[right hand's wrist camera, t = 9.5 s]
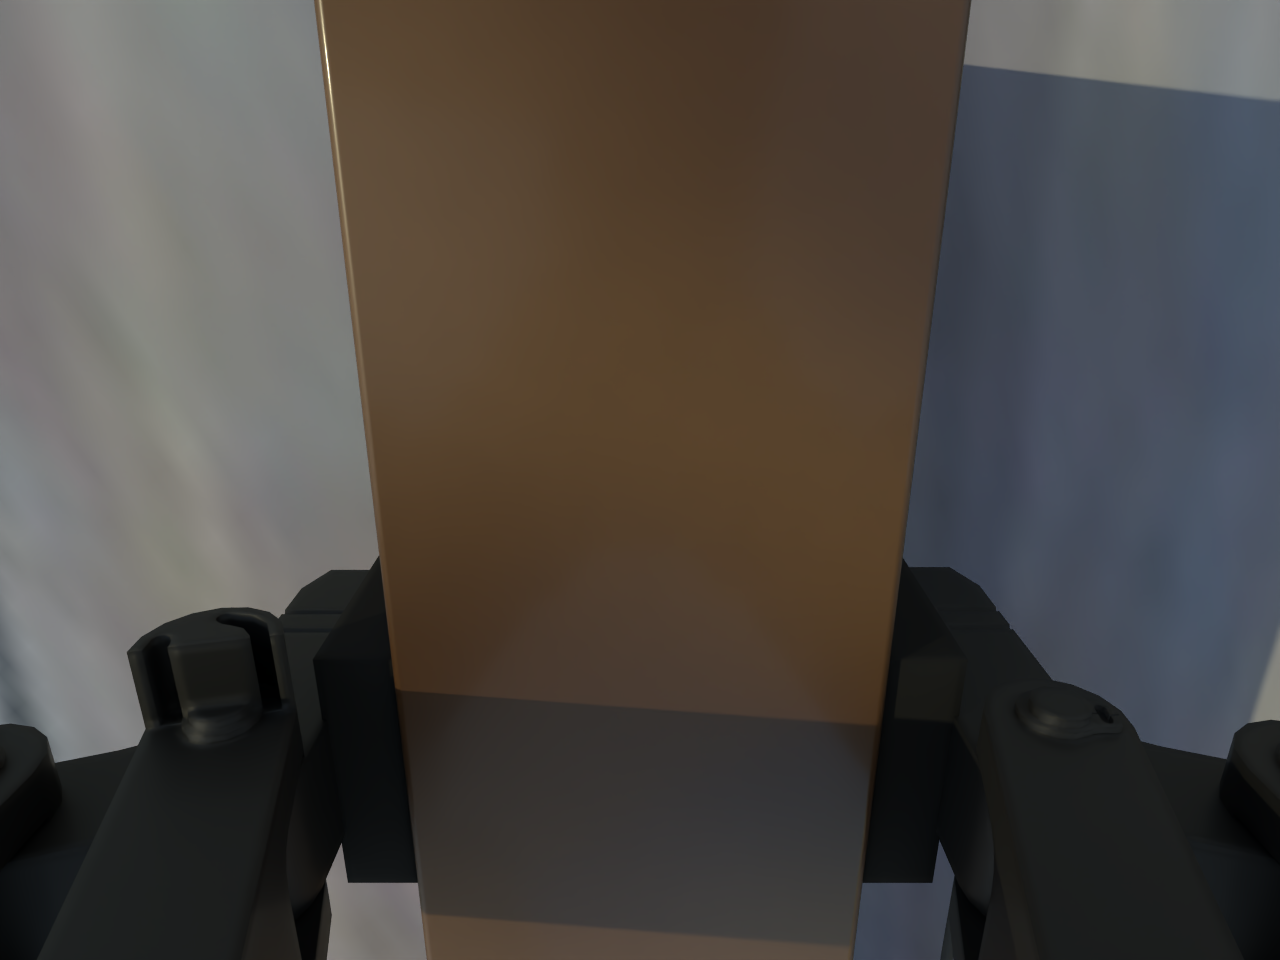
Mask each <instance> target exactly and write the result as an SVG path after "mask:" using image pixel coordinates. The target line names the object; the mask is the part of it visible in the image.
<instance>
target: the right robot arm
mask: <svg viewBox="0 0 1280 960" xmlns="http://www.w3.org/2000/svg"><path fill="white" fill-rule="evenodd" d="M1009 626H1010V625H1009V624H1008V622H1007V621H1006V620H1005V618H1004V617H1003V616H1002V614H1001V613H1000V612H999V611H996V607H995V605H994V604H993V603H992V602H991V600H990V599H989V598H988V596H987V595H986V594H985V593H984V591H983V590H982V589H981V587H980V586H979V585H977V584H976V583H974V582H972V581H971V580H969V579H968V578H966V577H964V576H963V575H961V574H960V573H958V572H956V571H955V570H953V569H951V568H950V567H908V565H907V564H906V562H905V561H904V559H903V558H902V566H901V575H900V583H899V591H898V599H897V607H896V615H895V623H894V631H893V639H892V647H891V656H890V664H889V672H888V680H887V688H886V696H885V704H884V712H883V720H882V728H881V737H880V745H879V753H878V761H877V769H876V777H875V785H874V793H873V801H872V809H871V818H870V826H869V834H868V842H867V850H866V858H865V866H864V874H863V882H862V883H932V882H933V875H934V869H935V863H936V857H937V850H938V844H939V840H940V842H941V844H942V847H943V849H944V851H945V854H946V856H947V858H948V861H949V863H950V865H951V867H952V870H953V872H954V874H955V877H954V882H953V888H952V894H951V900H950V906H949V912H948V918H947V923H946V929H945V935H944V941H943V947H942V953H941V959H940V960H953V958H954V960H1280V721H1276V720H1267V721H1260V722H1254V723H1247V724H1246V725H1245V726H1244V727H1242V728H1241V729H1240V730H1238V731H1237V732H1236V733H1235V734H1234V737H1233V741H1232V744H1231V747H1230V751H1229V754H1228V757H1227V759H1222V758H1217V757H1212V756H1207V755H1201V754H1196V753H1191V752H1186V751H1181V750H1176V749H1171V748H1166V747H1161V746H1157V745H1153V744H1149V743H1145V742H1142V741H1140V739H1139V736H1138V734H1137V732H1136V730H1135V728H1134V727H1133V725H1132V724H1131V723H1130V722H1129V720H1128V719H1127V718H1126V717H1125V715H1124V714H1123V713H1122V711H1120V710H1119V709H1118V708H1116V707H1115V706H1113V705H1112V704H1110V703H1109V702H1107V701H1106V700H1104V699H1103V698H1101V697H1100V696H1098V695H1096V694H1093V693H1091V692H1089V691H1086V690H1084V689H1081V688H1079V687H1077V686H1074V685H1071V684H1067V683H1062V682H1058V681H1053V680H1052V679H1051V678H1050V677H1049V675H1048V674H1047V673H1046V671H1045V670H1044V669H1043V667H1042V666H1041V665H1040V664H1039V662H1038V661H1037V660H1036V658H1035V657H1034V656H1033V655H1032V653H1031V652H1030V651H1029V649H1028V648H1027V647H1026V645H1025V644H1024V643H1023V642H1022V640H1021V639H1020V638H1019V636H1018V635H1017V634H1016V633H1015V631H1014V630H1013V629H1010V627H1009ZM127 655H128V659H129V663H130V667H131V671H132V675H133V679H134V683H135V687H136V691H137V695H138V699H139V703H140V707H141V711H142V715H143V719H144V723H145V727H146V729H145V732H144V734H143V736H142V738H141V740H140V742H139V744H138V746H134V747H130V748H127V749H123V750H119V751H114V752H108V753H103V754H98V755H93V756H88V757H83V758H78V759H73V760H68V761H63V762H58V763H55V762H54V759H53V755H52V752H51V749H50V745H49V742H48V739H47V737H46V736H45V735H44V734H42V733H41V732H40V731H38V730H37V729H36V728H34V727H29V726H23V725H16V724H4V725H0V960H327V951H328V943H329V934H330V925H331V917H332V914H331V907H330V900H329V894H328V888H327V882H326V878H327V875H328V873H329V871H330V868H331V866H332V864H333V861H334V859H335V857H336V854H337V852H338V850H339V847H340V845H341V843H342V847H343V854H344V860H345V866H346V873H347V879H348V883H418V879H417V871H416V862H415V854H414V846H413V837H412V829H411V820H410V812H409V803H408V795H407V786H406V778H405V769H404V761H403V752H402V744H401V735H400V727H399V718H398V710H397V701H396V693H395V684H394V676H393V667H392V659H391V650H390V642H389V633H388V625H387V616H386V608H385V599H384V591H383V582H382V574H381V565H380V557H379V556H378V558H377V560H376V561H375V563H374V564H373V566H372V567H371V569H370V570H331V571H329V572H327V573H326V574H324V575H323V576H321V577H319V578H318V579H316V580H315V581H313V582H311V583H310V584H308V585H306V586H305V587H303V588H302V589H301V590H300V591H299V593H298V594H297V595H296V597H295V598H294V599H293V600H292V602H291V603H290V604H289V606H288V607H287V608H286V610H285V614H282V615H281V616H280V617H279V619H278V618H277V617H275V616H274V615H273V614H271V613H270V612H267V611H262V610H258V609H253V608H249V607H246V608H219V609H214V610H208V611H203V612H198V613H193V614H190V615H187V616H184V617H181V618H179V619H176V620H173V621H170V622H167V623H165V624H163V625H161V626H159V627H158V628H156V629H154V630H152V631H151V632H149V633H147V634H146V635H144V636H142V637H141V638H140V639H139V640H138V641H137V642H136V643H135V644H134V645H133V646H132V647H131V648H130V649H129V650H128V652H127Z"/></svg>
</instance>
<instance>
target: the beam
mask: <svg viewBox="0 0 1280 960" xmlns="http://www.w3.org/2000/svg"><path fill="white" fill-rule="evenodd" d="M314 4H315V13H316V21H317V30H318V38H319V47H320V55H321V64H322V72H323V81H324V89H325V98H326V106H327V115H328V123H329V132H330V140H331V149H332V157H333V166H334V174H335V183H336V191H337V200H338V208H339V217H340V225H341V234H342V242H343V251H344V259H345V268H346V276H347V285H348V293H349V302H350V310H351V319H352V327H353V336H354V344H355V353H356V361H357V370H358V378H359V387H360V395H361V404H362V412H363V421H364V429H365V438H366V446H367V455H368V463H369V472H370V480H371V489H372V497H373V506H374V514H375V523H376V531H377V540H378V548H379V557H380V565H381V574H382V582H383V591H384V599H385V608H386V616H387V625H388V633H389V642H390V650H391V659H392V667H393V676H394V684H395V693H396V701H397V710H398V718H399V727H400V735H401V744H402V752H403V761H404V769H405V778H406V786H407V795H408V803H409V812H410V820H411V829H412V837H413V846H414V854H415V862H416V871H417V879H418V888H419V896H420V905H421V913H422V922H423V930H424V939H425V947H426V956H427V960H853V955H854V947H855V939H856V931H857V923H858V915H859V907H860V899H861V890H862V882H863V874H864V866H865V858H866V850H867V842H868V834H869V826H870V818H871V809H872V801H873V793H874V785H875V777H876V769H877V761H878V753H879V745H880V737H881V728H882V720H883V712H884V704H885V696H886V688H887V680H888V672H889V664H890V656H891V647H892V639H893V631H894V623H895V615H896V607H897V599H898V591H899V583H900V575H901V566H902V558H903V550H904V542H905V534H906V526H907V518H908V510H909V502H910V494H911V485H912V477H913V469H914V461H915V453H916V445H917V437H918V429H919V421H920V413H921V404H922V396H923V388H924V380H925V372H926V364H927V356H928V348H929V340H930V332H931V323H932V315H933V307H934V299H935V291H936V283H937V275H938V267H939V259H940V251H941V242H942V234H943V226H944V218H945V210H946V202H947V194H948V186H949V178H950V170H951V161H952V153H953V145H954V137H955V129H956V121H957V113H958V105H959V97H960V89H961V80H962V72H963V64H964V56H965V48H966V40H967V32H968V24H969V16H970V7H971V0H314Z"/></svg>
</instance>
